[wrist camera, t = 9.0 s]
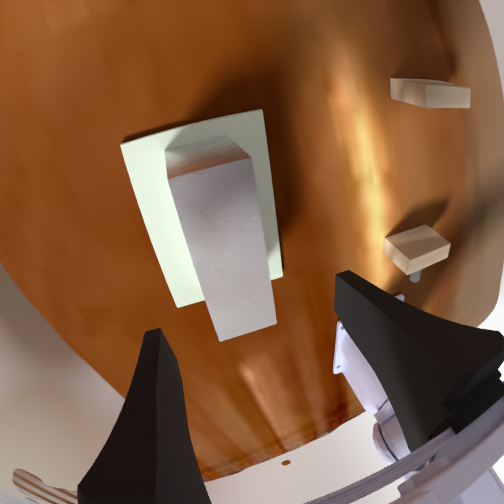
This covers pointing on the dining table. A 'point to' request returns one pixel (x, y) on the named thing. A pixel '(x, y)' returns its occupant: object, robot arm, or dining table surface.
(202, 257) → the steel bar
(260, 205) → the mat
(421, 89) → the blocks
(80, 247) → the dining table surface
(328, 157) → the dining table surface
